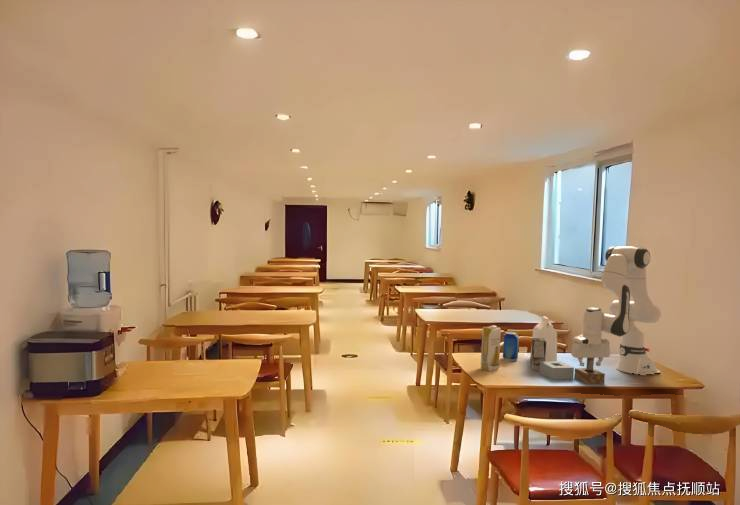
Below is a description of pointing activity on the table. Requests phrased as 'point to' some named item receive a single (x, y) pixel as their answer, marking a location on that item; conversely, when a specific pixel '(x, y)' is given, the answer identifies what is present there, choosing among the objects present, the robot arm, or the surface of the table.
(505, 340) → the beer can
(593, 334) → the robot arm
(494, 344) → the juice carton
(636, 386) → the table surface
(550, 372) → the socket
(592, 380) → the block
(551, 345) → the milk
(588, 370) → the pin
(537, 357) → the coffee box
